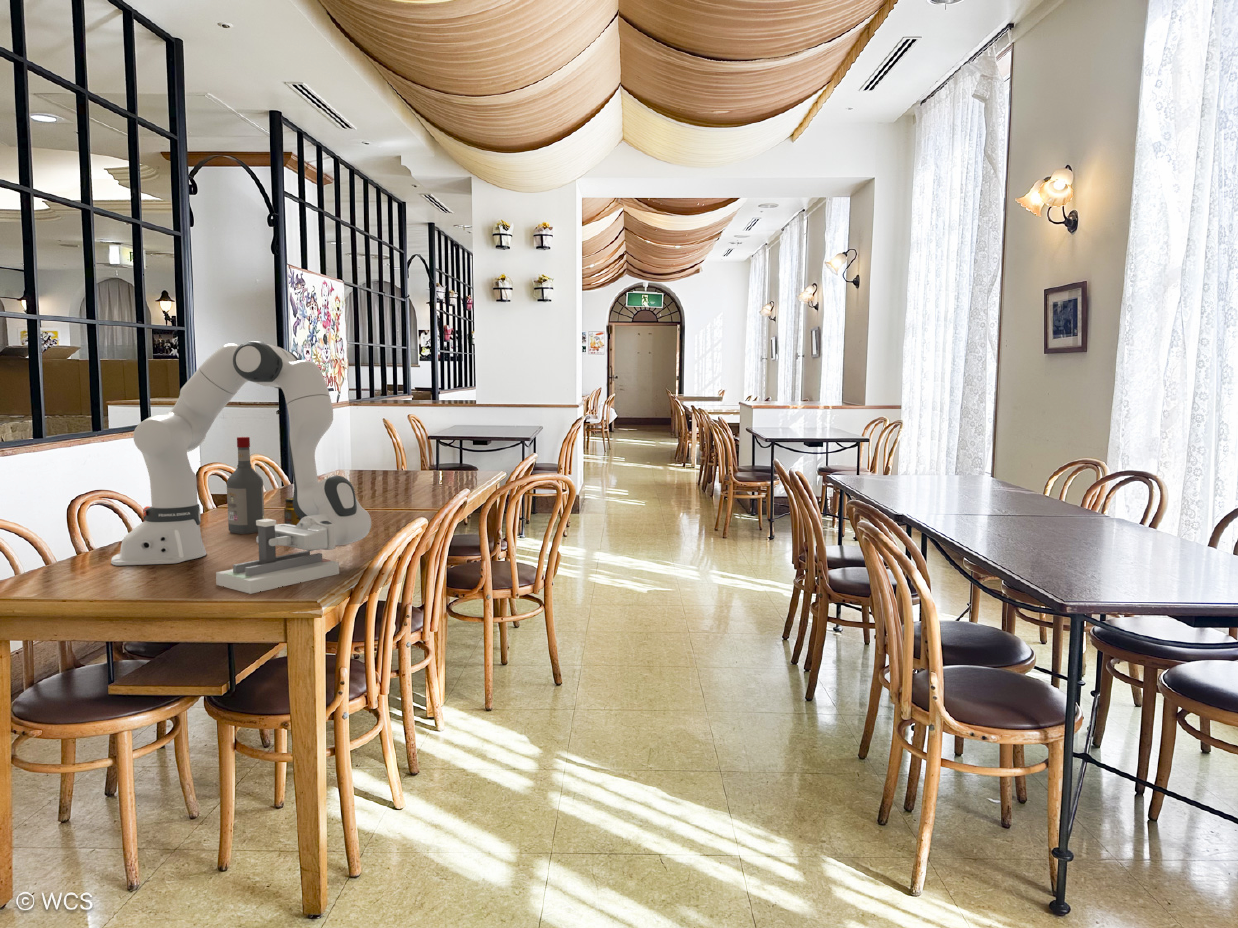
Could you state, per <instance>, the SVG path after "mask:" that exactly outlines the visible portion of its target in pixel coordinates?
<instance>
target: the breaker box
mask: <svg viewBox="0 0 1238 928" xmlns="http://www.w3.org/2000/svg"><path fill="white" fill-rule="evenodd" d="M258 561H259V559H256V560H252V561H251V560H250V561H245V562H240V563H235V564H232V569H231V568H230V569H227V570H222V571H216V572H215V576H216V578H215V579H216V580H215V582H216V586H220V587H223V586H224V587H223V588H227V589H231V590H234V591H235V590H236V591H239V592H242V593H245V594H249V595H251V594H255V593H259V592H260V591H261V592H264V591H268V590H273V589H278V587H279V588H282V586H283V587H286V586H290V585H297V584H301V583H305V582H309V581H313V580H317V579H318V580H319V579H322V578H327V577H331V576H334V575H339V574H340V562H339V561H335V560H331V559H326V558H323V553H320V552H318V553H314V554H311V551H307V550H303V551H298V552H294V553H293V552H292V553H288V554H287V553H286V554H282V555H276V562H271V563H266V564H261V565H258ZM300 582H301V583H300Z"/></svg>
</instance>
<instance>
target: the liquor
mask: <svg viewBox="0 0 1238 928" xmlns="http://www.w3.org/2000/svg"><path fill="white" fill-rule="evenodd" d="M236 447H237V466H236V469H235V470H234V471H233V472H232V473H231V474H230V475H229V477H228V478H227V481H226V500H227V501H226V503H227V522H228V523H227V524H228V531H229V533H231V534H237V535H250V534H254V533H256V534H257V533H258V526H257V525H256V520H262V519H265V500H264V499H265V498H264V497H265V496H264V495H265V494H264V480H263V478H262V476H261V475H260V474H259V473H258V472H257V471H256V470H255V469H254V468H253V467H252V464H251V452H250V448H251V439H250V437H249V436H241V437H239V436H238V437H236Z"/></svg>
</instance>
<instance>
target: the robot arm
mask: <svg viewBox="0 0 1238 928" xmlns="http://www.w3.org/2000/svg"><path fill="white" fill-rule="evenodd" d="M247 382H253V383H255V384H257V385H260V386H263V387H272V388H275V389H280V390H282V392H283V395H284V398H285V399H284V400H285V404H286V407H287V412H288V418H289V433H288V434H289V435H288V448H289V449H288V450H289V456H290V465H291V472H292V480H293V481H292V482H293V497H292V498H293V508H294V511H295V513H296V515H297V516H298V517H299V518H300V519H301V520H300V522H299V523H298V524H297V525H291V524H285V523H278V524H277V523H276V525H275V538H274V537H273V538H268V539H267V545H269V546H275V547H276V546H285V547H288V548H289V547H290V548H294V549H300V550H303V551H310V552H313V551H320V550H325V551H332V550H335V549H336V546H344V545H349V544H352V543H356V542H359V541H361V540H363V539H364V538H366V537H367V536H368V535H369V532H371V528H372V519H371V515H370V514H369V512H368V511H367V510H366V509H365V508H363V507H362V505H361V504H360V502H359V500H358V499H357V496H356V491H355V488H354V486H353V484H352V482H351V481H349V479H347V478H346V477H344V476H342V475H338V474H334V475H331V476H329V477H326V478H323V479H322V480H319V479H318V470H317V466H316V465H317V464H316V449H317V448H318V444H319V443H320V441H321V439H322V438H323V436H325V434H326V433H327V431H328V430H329V429H330V427H331V426H332V424H333V420H334V408H333V403H332V399H331V395H330V391H329V388H328V386H327V383H326V381H325V378H324V376H323V373H322V371H321V369H320V368H319V366H318V365H317V364H316V363H315V362H313V361H311V360H306V359H299V358H298V356H296V355H295V354H294V353H292V352H291V351H288V350H286V349H285V348H282V347H280V346H277V345H275V344H274V345H273V344H268V343H265V342H263V341H260V340H259V341H257V340H251V341H246V342H243V343H242V344H240V345H239V344H237V343H232V342H231V343H225V344H224V345H222V346H221V347H220V348H218V349H217V350H215V352H213V353H212V354H211V355H210V356H209V357H208V358H207V359H205V361H203V363H202V364H201V365H200V366H199V367H198V368H197V370H196V371H195V372H194V373H193V374H192V376H191V377H190V378H189V379H188V380H187V381H186V382H185V384H184V385H183V386H182V387H181V388H180V391H179V396H178V399H177V400H176V402H175V403H174V406H173V407H172V408H171V410H170V411H169V412H167V413H165V414H157V415H151V416H150V417H147V418H146V419H144V420H143V421H141V422H139V423H138V424H137V425H136V426H135V428H134V431H133V442H134V445H135V446H136V447H137V449H138V450H139V451H140V453H141V454H142V457H143V460H144V463H145V466H146V468H147V469H146V470H147V472H148V476H149V483H150V485H149V486H150V498H151V499H150V501H151V506H150V505H149V506H145V507H144V508H142V509H143V510H142V512H143V513H142V517H143V520H144V521H143V522H142V523H140V524H139V525H137V526H136V527H134V529H132V530H131V531H130V532H128V533H126V535H125V536H124V537H123V539H122V541H121V544H120V551H119V553H117V554H115V555H113V556H112V557H111V561H110V563H111V564H112V566H137V565H138V566H139V565H140V566H141V565H164V564H167V565H168V564H178V563H182V562H185V561H190V560H194V559H195V560H196V559H198V558H202V557H205V556H206V555H207V551H206V548H205V545H204V542H203V537H202V532H201V526H200V524H201V520H202V517H201V508H200V504H199V503H198V502H199V501H198V484H197V483H198V481H197V475H196V473H195V472H194V471H193V469H192V467H191V464H190V461H189V457H188V453H189V452H192V451H194V450H195V449H197V448H198V447H199V446H201V445H202V444H203V442H204V441H205V439H206V436H207V433H208V432H209V430H210V429H211V427H212V425H213V424H214V421H215V420H216V418H217V417H218V416H219V414H220V413H221V412H222V411H223V409H224V408H225V407H226V406H227V404H229V402H230V401H231V400H232V399H233V398H234V397H235V395H236V394H237V393H239V392H238V391H239V390H240V389H241V388H242V387H243V386H244V385H245V384H246V383H247ZM255 538H256V539H255V540H256V544H259V543H258V535H257V536H256V537H255Z"/></svg>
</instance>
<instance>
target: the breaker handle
mask: <svg viewBox="0 0 1238 928" xmlns="http://www.w3.org/2000/svg"><path fill="white" fill-rule="evenodd" d="M276 524H277V520H276V519H271V518H264V519H262V520H256V525H257V526H258V532H257V536H258V543H257V544H258V560H259V561H258V565H261V564H266V563H271V562H276V556H277V552H276V551H277V549H276V546H269V545H267V539H268V538H273V537H274V538H275V525H276Z"/></svg>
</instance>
